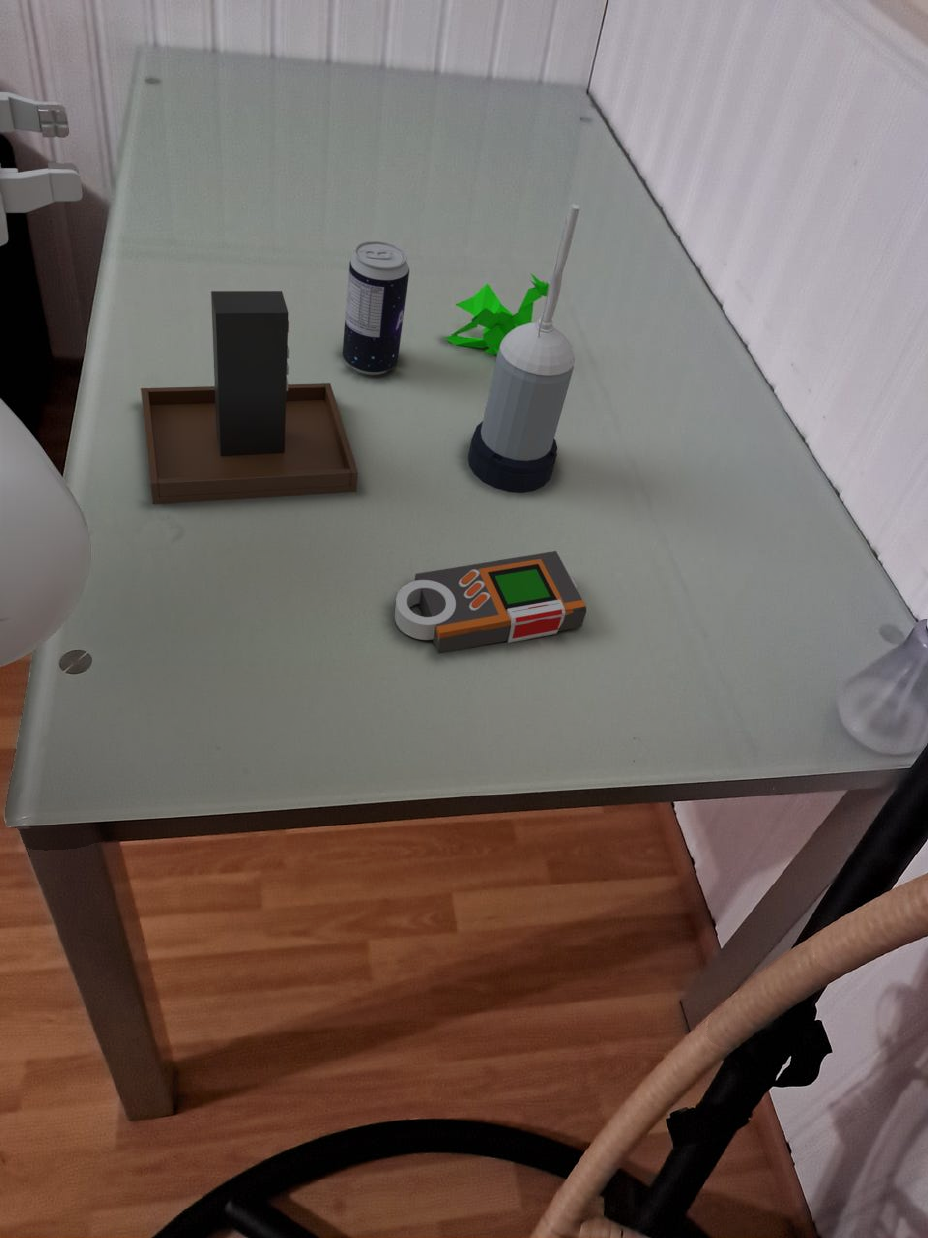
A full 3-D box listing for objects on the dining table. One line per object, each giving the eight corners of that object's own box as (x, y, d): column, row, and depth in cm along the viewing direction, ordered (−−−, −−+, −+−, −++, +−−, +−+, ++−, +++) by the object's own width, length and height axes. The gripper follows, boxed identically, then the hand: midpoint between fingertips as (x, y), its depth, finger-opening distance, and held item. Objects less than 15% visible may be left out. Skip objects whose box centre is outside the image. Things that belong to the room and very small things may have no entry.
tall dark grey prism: (216, 433, 85) (210, 290, 75) (281, 430, 87) (285, 290, 77) (220, 456, 83) (215, 312, 73) (287, 452, 85) (291, 312, 75)
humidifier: (562, 456, 93) (637, 204, 74) (536, 504, 87) (609, 244, 69) (485, 427, 94) (540, 172, 75) (454, 473, 88) (506, 209, 70)
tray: (152, 504, 79) (150, 483, 78) (143, 408, 87) (140, 387, 86) (356, 492, 84) (358, 472, 83) (329, 402, 92) (330, 382, 91)
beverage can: (399, 381, 97) (414, 271, 88) (343, 378, 96) (352, 266, 87) (394, 349, 100) (407, 241, 92) (340, 346, 99) (348, 236, 90)
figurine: (554, 372, 101) (559, 291, 95) (442, 370, 102) (438, 290, 95) (554, 340, 105) (558, 261, 99) (446, 339, 106) (443, 260, 99)
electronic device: (386, 575, 75) (560, 547, 79) (384, 600, 77) (554, 571, 81) (410, 640, 71) (593, 606, 75) (408, 664, 73) (585, 630, 77)
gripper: (-200, 170, 50) (82, 171, 54) (-175, 30, 62) (53, 40, 66) (-160, 282, 54) (97, 274, 59) (-145, 131, 66) (67, 134, 71)
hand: (74, 149), depth 63 cm, fingers open, 8 cm apart
